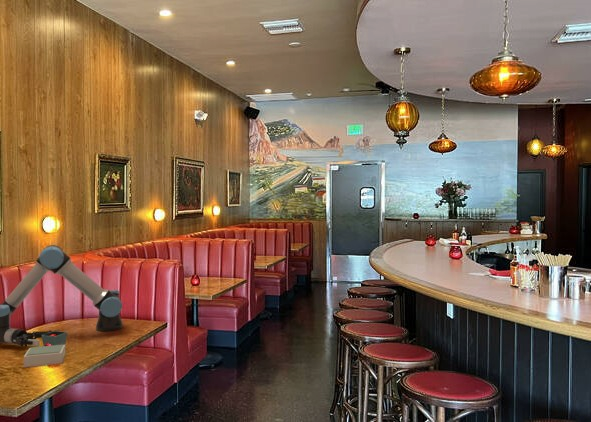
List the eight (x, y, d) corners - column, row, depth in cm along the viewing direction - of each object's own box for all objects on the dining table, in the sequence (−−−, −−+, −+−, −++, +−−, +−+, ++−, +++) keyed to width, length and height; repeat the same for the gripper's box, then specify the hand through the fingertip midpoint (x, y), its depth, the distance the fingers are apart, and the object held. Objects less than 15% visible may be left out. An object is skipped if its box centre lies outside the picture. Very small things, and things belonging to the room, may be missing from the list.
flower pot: (54, 354, 243) (54, 336, 243) (41, 352, 246) (40, 335, 246) (68, 349, 251) (67, 332, 251) (54, 347, 254) (54, 330, 254)
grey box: (65, 354, 242) (65, 343, 242) (61, 363, 229) (61, 351, 229) (29, 358, 237) (29, 347, 237) (23, 367, 224) (23, 355, 224)
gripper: (35, 337, 267) (67, 339, 261) (-5, 350, 243) (29, 353, 237) (35, 323, 267) (66, 326, 261) (-5, 335, 243) (29, 338, 237)
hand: (49, 339), depth 249 cm, fingers open, 13 cm apart
